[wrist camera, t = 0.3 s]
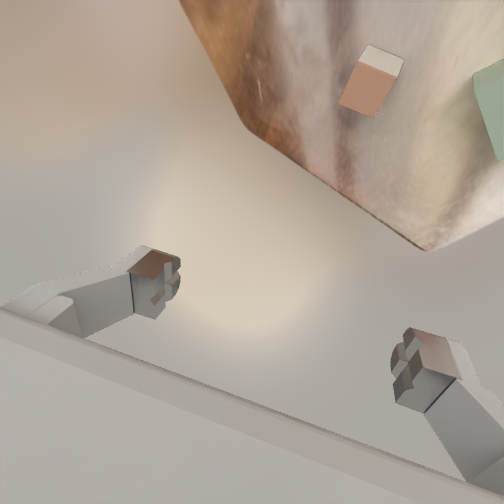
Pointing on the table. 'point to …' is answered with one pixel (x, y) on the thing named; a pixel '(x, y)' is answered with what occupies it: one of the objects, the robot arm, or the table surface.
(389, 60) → the white brown-topped block
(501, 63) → the green box
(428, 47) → the table surface
